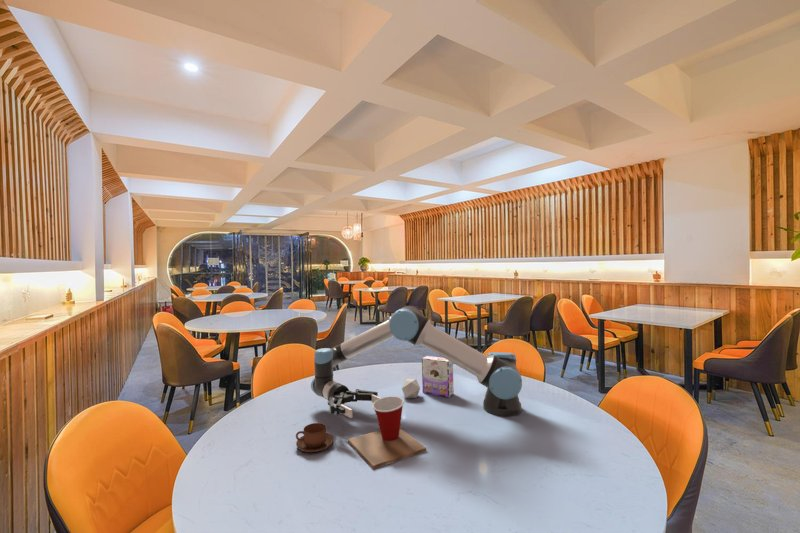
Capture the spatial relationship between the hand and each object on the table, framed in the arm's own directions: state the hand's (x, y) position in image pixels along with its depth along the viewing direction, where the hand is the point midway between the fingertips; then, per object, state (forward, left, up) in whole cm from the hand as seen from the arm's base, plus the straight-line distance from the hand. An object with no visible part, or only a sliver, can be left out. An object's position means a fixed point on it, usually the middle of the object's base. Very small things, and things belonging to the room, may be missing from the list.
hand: (367, 408), depth 123 cm
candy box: (-46, -20, -10) cm, 51 cm away
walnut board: (-2, +10, -10) cm, 14 cm away
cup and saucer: (+18, -3, -10) cm, 21 cm away
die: (-33, -23, -10) cm, 41 cm away
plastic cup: (-5, +7, -9) cm, 12 cm away
